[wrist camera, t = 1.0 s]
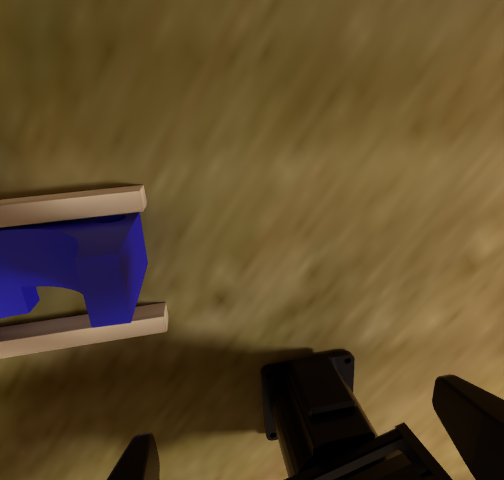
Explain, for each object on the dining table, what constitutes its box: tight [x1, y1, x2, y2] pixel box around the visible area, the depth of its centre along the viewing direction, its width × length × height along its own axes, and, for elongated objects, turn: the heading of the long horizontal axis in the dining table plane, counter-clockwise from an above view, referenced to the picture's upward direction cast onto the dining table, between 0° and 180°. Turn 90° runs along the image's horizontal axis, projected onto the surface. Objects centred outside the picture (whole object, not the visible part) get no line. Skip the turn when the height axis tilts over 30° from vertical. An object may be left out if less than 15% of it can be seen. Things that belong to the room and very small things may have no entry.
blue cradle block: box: [0, 212, 148, 328], centre depth 15 cm, size 12×4×6 cm, turn 93°
